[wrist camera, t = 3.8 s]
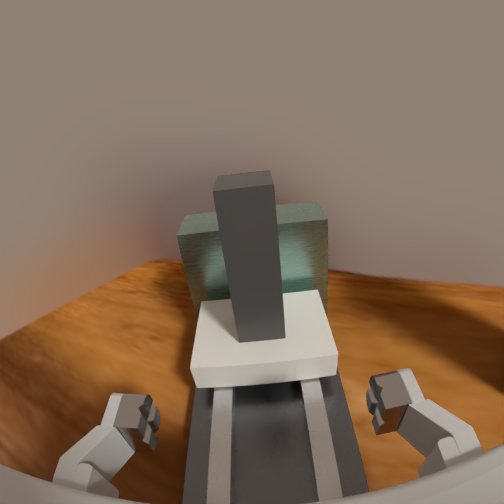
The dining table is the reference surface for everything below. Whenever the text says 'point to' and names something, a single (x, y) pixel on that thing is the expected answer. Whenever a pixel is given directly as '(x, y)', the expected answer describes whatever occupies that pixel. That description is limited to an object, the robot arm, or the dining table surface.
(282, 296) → the carriage
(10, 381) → the dining table surface
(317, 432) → the rail track
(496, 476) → the robot arm
